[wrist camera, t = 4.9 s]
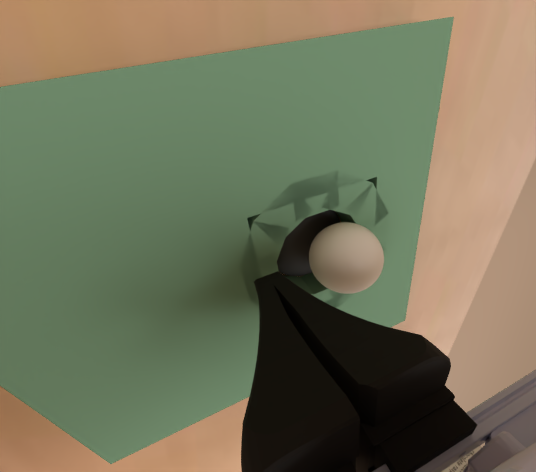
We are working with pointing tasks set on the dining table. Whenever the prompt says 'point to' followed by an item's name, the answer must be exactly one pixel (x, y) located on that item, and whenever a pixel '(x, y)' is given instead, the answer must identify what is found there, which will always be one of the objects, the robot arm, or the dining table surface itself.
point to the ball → (346, 257)
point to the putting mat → (199, 217)
